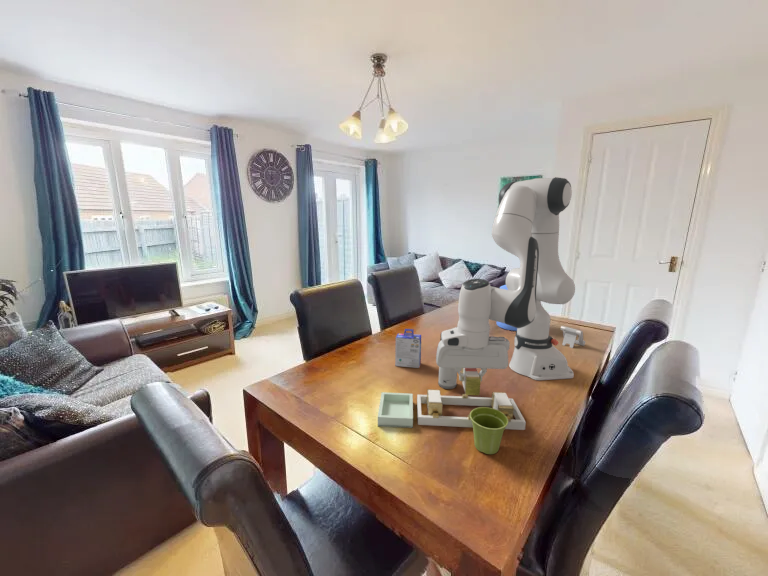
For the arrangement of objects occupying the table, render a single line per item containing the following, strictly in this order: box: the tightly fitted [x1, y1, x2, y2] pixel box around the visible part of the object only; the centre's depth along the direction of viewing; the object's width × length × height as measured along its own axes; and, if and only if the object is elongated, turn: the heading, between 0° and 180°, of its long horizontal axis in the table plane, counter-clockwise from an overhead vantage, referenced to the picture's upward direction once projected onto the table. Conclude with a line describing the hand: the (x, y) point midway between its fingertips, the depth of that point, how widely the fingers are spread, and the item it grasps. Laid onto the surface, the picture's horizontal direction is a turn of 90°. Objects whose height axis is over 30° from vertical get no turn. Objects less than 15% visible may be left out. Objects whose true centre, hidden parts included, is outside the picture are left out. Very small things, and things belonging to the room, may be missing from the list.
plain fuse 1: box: [426, 388, 443, 416], centre depth 98 cm, size 4×8×6 cm, turn 176°
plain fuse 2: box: [490, 391, 514, 419], centre depth 97 cm, size 4×8×6 cm, turn 176°
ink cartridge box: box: [394, 328, 422, 369], centre depth 129 cm, size 10×6×14 cm, turn 78°
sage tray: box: [377, 391, 414, 429], centre depth 99 cm, size 10×13×3 cm
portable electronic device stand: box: [560, 325, 586, 349], centre depth 149 cm, size 9×8×8 cm
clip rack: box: [416, 393, 526, 431], centre depth 98 cm, size 30×12×3 cm, turn 86°
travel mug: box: [437, 337, 458, 390], centre depth 113 cm, size 6×7×20 cm
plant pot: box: [469, 406, 508, 455], centre depth 84 cm, size 9×9×9 cm
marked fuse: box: [461, 368, 482, 396], centre depth 96 cm, size 4×8×6 cm, turn 176°
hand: (470, 380), depth 96 cm, fingers closed on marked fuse, 3 cm apart
